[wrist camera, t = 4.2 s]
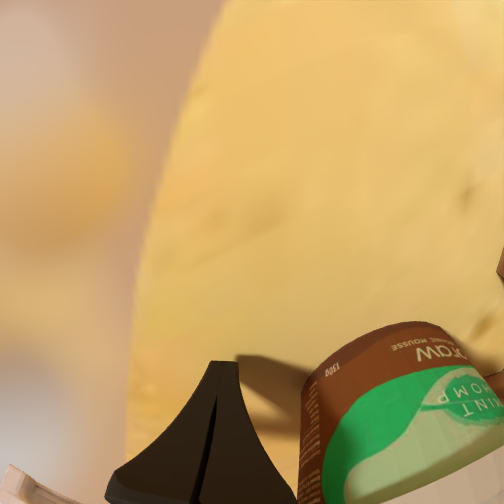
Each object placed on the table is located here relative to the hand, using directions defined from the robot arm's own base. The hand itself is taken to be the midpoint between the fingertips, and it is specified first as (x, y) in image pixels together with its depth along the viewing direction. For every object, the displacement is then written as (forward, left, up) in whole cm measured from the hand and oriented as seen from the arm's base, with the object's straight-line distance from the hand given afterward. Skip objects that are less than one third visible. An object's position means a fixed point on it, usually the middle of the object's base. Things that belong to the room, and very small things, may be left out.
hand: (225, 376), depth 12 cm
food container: (0, -9, -1) cm, 9 cm away
